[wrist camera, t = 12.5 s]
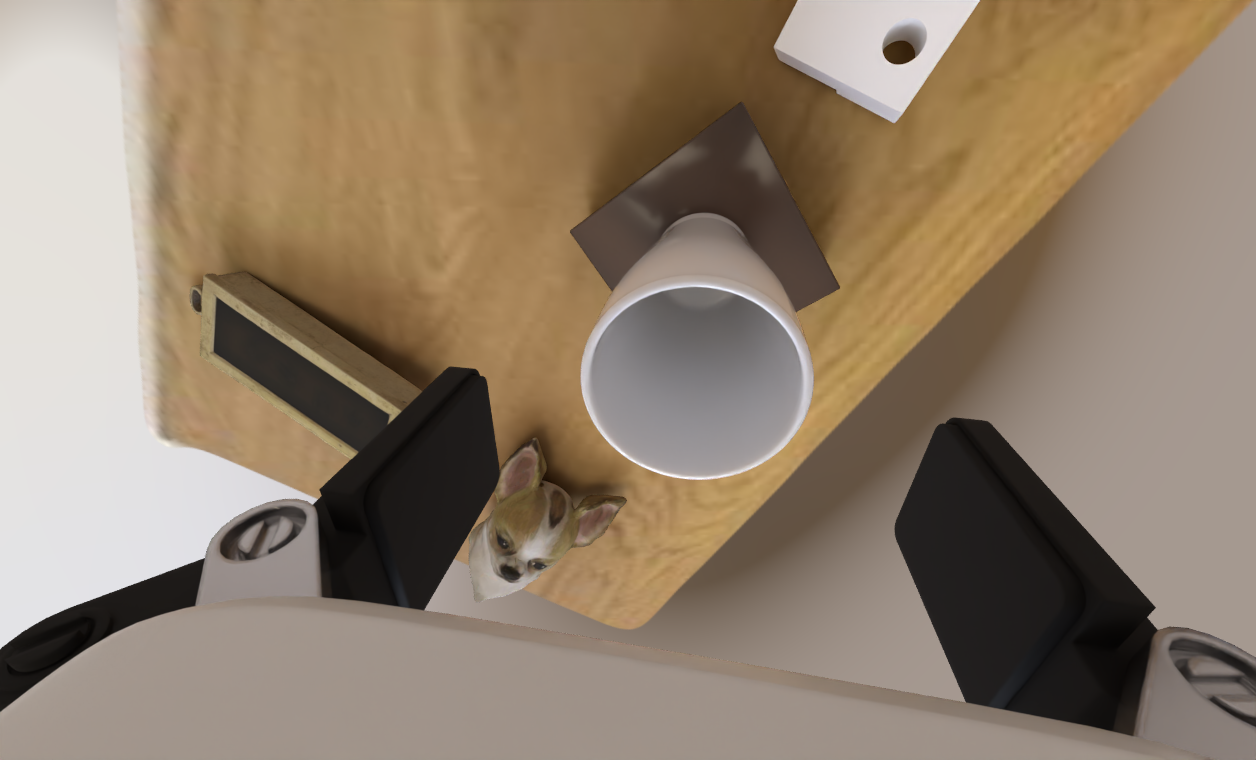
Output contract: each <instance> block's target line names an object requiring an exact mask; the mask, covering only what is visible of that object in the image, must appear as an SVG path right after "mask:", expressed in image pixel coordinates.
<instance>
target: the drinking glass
mask: <svg viewBox="0 0 1256 760" xmlns="http://www.w3.org/2000/svg"><path fill="white" fill-rule="evenodd" d="M813 387H814V371H813V363H812V358H811V354H810V351H809V348H808V345H807V342H806V338H805V335H804V332H803V329H802V326H801V323H800V320H799V318H798V315H797V312H796V310H795V308H794V306H793V304H792V302H791V300H790V298H789V296H788V294H787V292H786V290H785V288H784V287H783V285H782V284H781V282H780V280H779V279H778V277H777V276H776V275H775V273H774V272H773V271H772V270H771V268H770V267H769V266H768V265H767V264H766V262H765V261H764V260H763V259H762V258H761V257H760V256H759V254H758V253H757V252H756V251H755V250H754V249H753V248H752V246H751V245H750V244H749V242H748V240H747V238H746V236H745V235H744V233H743V232H742V230H741V229H740V228H739V227H738V226H737V225H736V224H735V223H733V222H732V221H731V220H729V219H727V218H725V217H723V216H721V215H718V214H714V213H695V214H691V215H687V216H685V217H683V218H681V219H679V220H677V221H676V222H674V223H673V224H672V225H670V226H669V227H668V228H667V229H666V230H665V232H664V233H663V234H662V236H661V237H660V239H659V240H658V241H657V242H656V243H655V244H654V245H653V246H652V247H651V248H650V249H649V250H648V251H647V252H646V253H645V254H644V255H643V256H642V257H641V258H640V259H639V260H638V261H637V262H636V263H635V264H634V265H633V266H632V267H631V268H630V269H629V270H628V271H627V272H626V274H625V275H624V276H623V277H622V278H621V280H620V281H619V283H618V284H617V285H616V287H615V288H614V290H613V291H612V293H611V294H610V296H609V298H608V299H607V301H606V303H605V305H604V307H603V308H602V310H601V312H600V314H599V316H598V319H597V321H596V323H595V325H594V328H593V330H592V332H591V334H590V336H589V339H588V341H587V343H586V346H585V350H584V353H583V357H582V363H581V388H582V394H583V398H584V402H585V405H586V408H587V410H588V413H589V415H590V417H591V419H592V421H593V423H594V424H595V426H596V427H597V429H598V430H599V432H600V433H601V434H602V436H603V437H604V438H605V439H606V440H607V441H608V442H609V444H610V445H612V446H613V447H614V448H615V449H616V450H617V451H618V452H620V453H621V454H622V455H623V456H625V457H626V458H628V459H629V460H631V461H632V462H634V463H636V464H638V465H640V466H642V467H644V468H646V469H648V470H651V471H653V472H656V473H659V474H663V475H666V476H670V477H676V478H682V479H694V480H704V479H716V478H723V477H728V476H732V475H736V474H739V473H742V472H745V471H747V470H750V469H752V468H754V467H756V466H758V465H760V464H762V463H763V462H765V461H767V460H768V459H770V458H771V457H773V456H774V455H775V454H777V453H778V452H779V451H780V450H781V449H782V448H784V447H785V445H786V444H787V443H788V442H789V441H790V440H791V439H792V438H793V436H794V435H795V434H796V433H797V431H798V429H799V428H800V426H801V425H802V423H803V421H804V419H805V417H806V415H807V412H808V409H809V407H810V403H811V399H812V395H813Z"/></svg>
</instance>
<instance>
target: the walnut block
mask: <svg viewBox="0 0 1256 760" xmlns="http://www.w3.org/2000/svg"><path fill="white" fill-rule="evenodd" d="M695 213H714V214H718V215H721V216H723V217H725V218H727V219H729V220H731V221H732V222H733V223H735V224H736V225H737V226H738V227H739V228H740V229H741V230H742V232H743V233H744V235H745V236H746V238H747V240H748V242H749V244H750V245H751V246H752V248H753V249H754V250H755V251H756V252H757V253H758V254H759V256H760V257H761V258H762V259H763V260H764V261H765V262H766V264H767V265H768V266H769V267H770V268H771V270H772V271H773V272H774V273H775V275H776V276H777V277H778V279H779V280H780V282H781V284H782V285H783V287H784V288H785V290H786V292H787V294H788V296H789V298H790V300H791V302H792V304H793V306H794V308H795V310H796V312H797V311H799V310H801V309H803V308H804V307H806V306H808V305H810V304H812V303H814V302H816V301H818V300H819V299H821V298H823V297H825V296H827V295H829V294H831V293H833V292H834V291H836V290H838V289H840V286H839V284H838V282H837V280H836V278H835V276H834V275H833V273H832V271H831V269H830V267H829V265H828V263H827V261H826V259H825V257H824V256H823V254H822V252H821V250H820V248H819V246H818V244H817V242H816V240H815V238H814V237H813V235H812V233H811V231H810V229H809V227H808V225H807V223H806V221H805V219H804V218H803V216H802V214H801V212H800V210H799V208H798V206H797V204H796V202H795V200H794V199H793V197H792V195H791V193H790V191H789V189H788V187H787V185H786V183H785V181H784V180H783V178H782V176H781V174H780V172H779V170H778V168H777V166H776V164H775V162H774V160H773V159H772V157H771V155H770V153H769V151H768V149H767V147H766V145H765V143H764V141H763V140H762V138H761V136H760V134H759V132H758V130H757V128H756V126H755V124H754V122H753V121H752V119H751V117H750V115H749V113H748V111H747V109H746V107H745V105H744V103H743V102H740V103H739V104H737V105H736V106H735V107H733V108H732V109H731V110H729V111H728V112H727V113H725V114H724V115H723V116H721V117H720V118H719V119H717V120H716V121H715V122H713V123H712V124H711V125H709V126H708V127H707V128H705V129H704V130H703V131H701V132H700V133H699V134H698V135H696V136H695V137H694V138H692V139H691V140H690V141H688V142H687V143H686V144H684V145H683V146H682V147H680V148H679V149H678V150H676V151H675V152H674V153H672V154H671V155H670V156H668V157H667V158H666V159H664V160H663V161H662V162H660V163H659V164H658V165H656V166H655V167H654V168H652V169H651V170H650V171H648V172H647V173H646V174H644V175H643V176H642V177H641V178H639V179H638V180H637V181H635V182H634V183H633V184H631V185H630V186H629V187H627V188H626V189H625V190H623V191H622V192H621V193H619V194H618V195H617V196H615V197H614V198H613V199H611V200H610V201H609V202H607V203H606V204H605V205H603V206H602V207H601V208H599V209H598V210H597V211H595V212H594V213H593V214H591V215H590V216H589V217H587V218H586V219H585V220H584V221H582V222H581V223H580V224H578V225H577V226H576V227H574V228H573V229H572V230H570V233H571V234H572V236H573V237H574V238H575V240H576V241H577V243H578V244H579V246H580V247H581V248H582V250H583V251H584V253H585V254H586V255H587V257H588V258H589V260H590V261H591V262H592V264H593V265H594V267H595V268H596V269H597V271H598V272H599V274H600V275H601V276H602V278H603V279H604V281H605V282H606V284H607V285H608V286H609V288H610V289H611V291H613V290H614V288H615V287H616V285H617V284H618V283H619V281H620V280H621V278H622V277H623V276H624V275H625V274H626V272H627V271H628V270H629V269H630V268H631V267H632V266H633V265H634V264H635V263H636V262H637V261H638V260H639V259H640V258H641V257H642V256H643V255H644V254H645V253H646V252H647V251H648V250H649V249H650V248H651V247H652V246H653V245H654V244H655V243H656V242H657V241H658V240H659V239H660V237H661V236H662V234H663V233H664V232H665V230H666V229H667V228H668V227H669V226H670V225H672V224H673V223H674V222H676V221H677V220H679V219H681V218H683V217H685V216H687V215H691V214H695Z"/></svg>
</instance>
